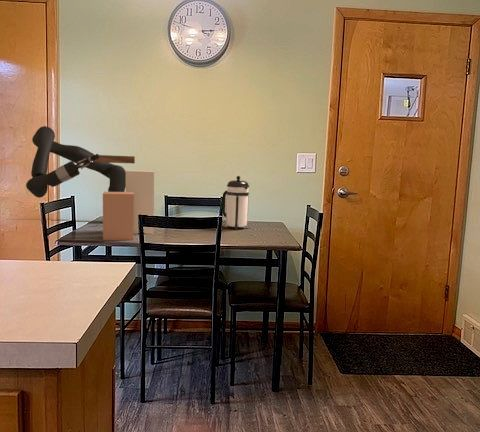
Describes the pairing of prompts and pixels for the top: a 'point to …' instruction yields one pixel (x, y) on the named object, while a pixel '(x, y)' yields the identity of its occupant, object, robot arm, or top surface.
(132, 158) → the walnut bar
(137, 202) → the tall plinth
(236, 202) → the coffee press
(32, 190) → the robot arm
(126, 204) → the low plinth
